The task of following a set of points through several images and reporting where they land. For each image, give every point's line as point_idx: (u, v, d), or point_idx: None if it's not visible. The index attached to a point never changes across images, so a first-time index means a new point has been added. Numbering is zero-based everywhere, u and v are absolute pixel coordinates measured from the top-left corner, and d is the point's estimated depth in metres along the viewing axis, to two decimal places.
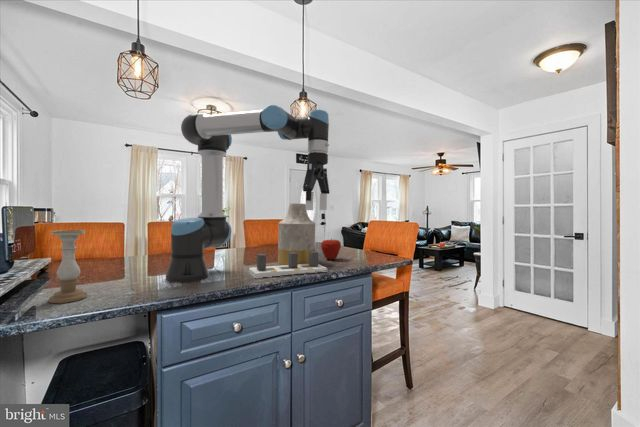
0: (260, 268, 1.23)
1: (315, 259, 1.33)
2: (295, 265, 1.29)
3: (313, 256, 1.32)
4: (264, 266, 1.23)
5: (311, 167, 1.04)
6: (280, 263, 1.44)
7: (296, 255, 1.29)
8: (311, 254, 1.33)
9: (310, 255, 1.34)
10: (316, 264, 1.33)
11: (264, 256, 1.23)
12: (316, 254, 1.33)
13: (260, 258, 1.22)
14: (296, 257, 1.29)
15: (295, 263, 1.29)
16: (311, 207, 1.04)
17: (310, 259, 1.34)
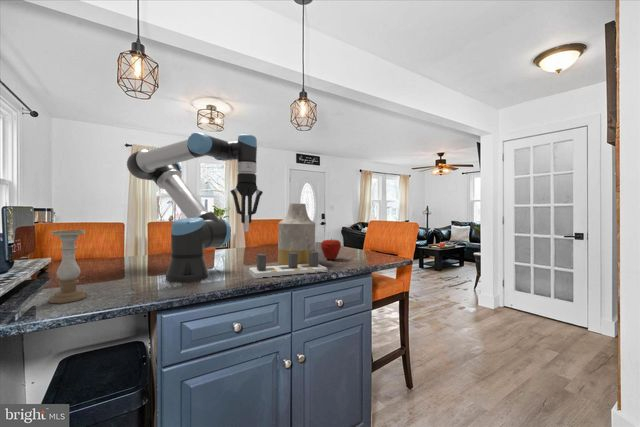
0: (260, 268, 1.23)
1: (315, 259, 1.33)
2: (295, 265, 1.29)
3: (313, 256, 1.32)
4: (264, 266, 1.23)
5: (232, 193, 1.18)
6: (280, 263, 1.44)
7: (296, 255, 1.29)
8: (311, 254, 1.33)
9: (310, 255, 1.34)
10: (316, 264, 1.33)
11: (264, 256, 1.23)
12: (316, 254, 1.33)
13: (260, 258, 1.22)
14: (296, 257, 1.29)
15: (295, 263, 1.29)
16: (244, 229, 1.20)
17: (310, 259, 1.34)
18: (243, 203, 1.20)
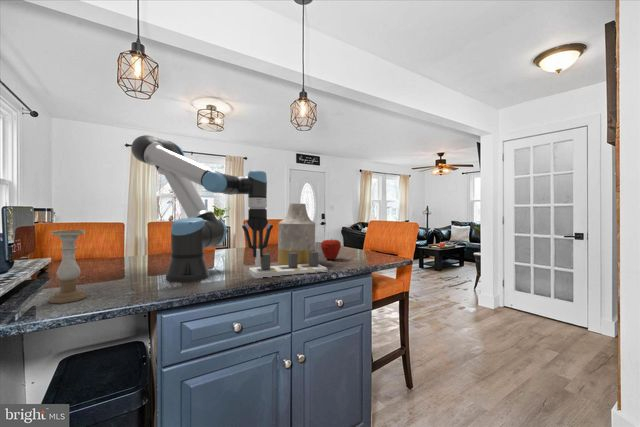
0: (264, 268, 1.23)
1: (315, 259, 1.33)
2: (295, 265, 1.29)
3: (313, 256, 1.32)
4: (268, 266, 1.24)
5: (243, 229, 1.20)
6: (280, 263, 1.44)
7: (296, 255, 1.29)
8: (311, 254, 1.33)
9: (310, 255, 1.34)
10: (316, 264, 1.33)
11: (268, 256, 1.24)
12: (316, 254, 1.33)
13: (264, 258, 1.23)
14: (296, 257, 1.29)
15: (295, 263, 1.29)
16: (256, 263, 1.22)
17: (310, 259, 1.34)
18: (254, 238, 1.22)
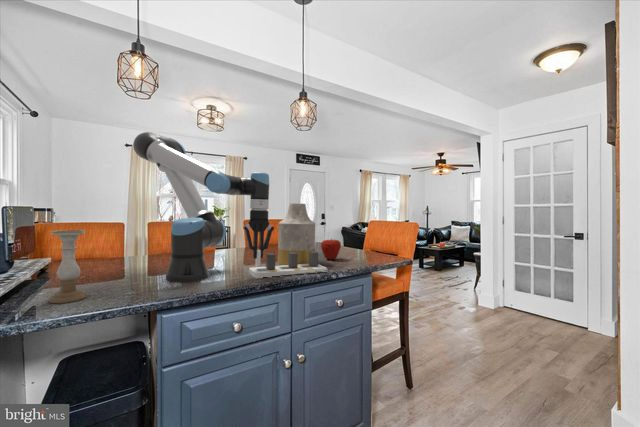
0: (270, 267, 1.24)
1: (315, 259, 1.33)
2: (295, 265, 1.29)
3: (313, 256, 1.32)
4: (273, 265, 1.25)
5: (245, 230, 1.21)
6: (280, 263, 1.44)
7: (296, 255, 1.29)
8: (311, 254, 1.33)
9: (310, 255, 1.34)
10: (316, 264, 1.33)
11: (273, 256, 1.25)
12: (316, 254, 1.33)
13: (270, 257, 1.24)
14: (296, 257, 1.29)
15: (295, 263, 1.29)
16: (256, 264, 1.23)
17: (310, 259, 1.34)
18: (255, 239, 1.22)
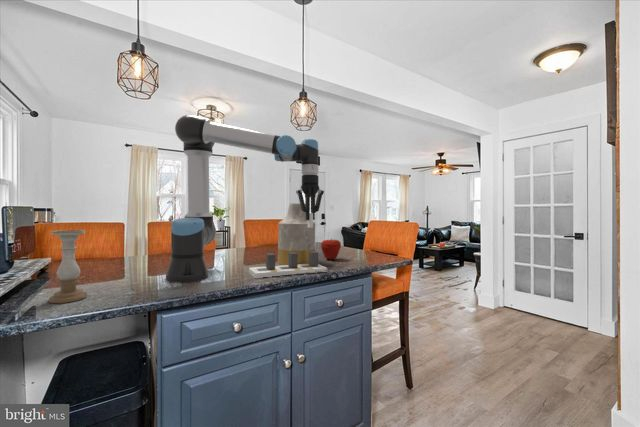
0: (270, 267, 1.24)
1: (315, 259, 1.33)
2: (295, 265, 1.29)
3: (313, 256, 1.32)
4: (273, 265, 1.25)
5: (298, 193, 1.30)
6: (280, 263, 1.44)
7: (296, 255, 1.29)
8: (311, 254, 1.33)
9: (310, 255, 1.34)
10: (316, 264, 1.33)
11: (273, 256, 1.25)
12: (316, 254, 1.33)
13: (270, 257, 1.24)
14: (296, 257, 1.29)
15: (295, 263, 1.29)
16: (309, 225, 1.32)
17: (310, 259, 1.34)
18: (308, 202, 1.31)
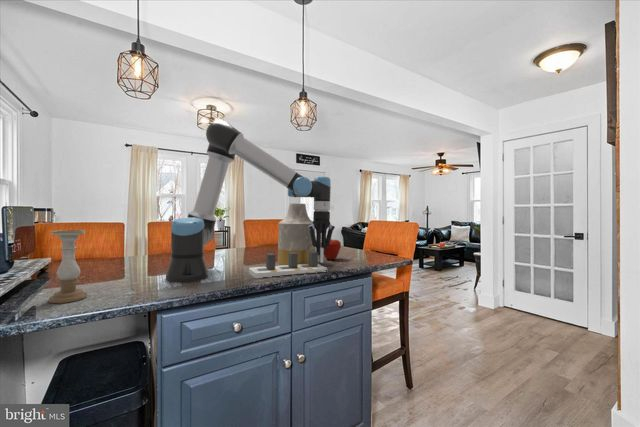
0: (270, 267, 1.24)
1: (314, 259, 1.33)
2: (295, 265, 1.29)
3: (312, 256, 1.32)
4: (273, 265, 1.25)
5: (310, 229, 1.33)
6: (280, 263, 1.44)
7: (296, 255, 1.29)
8: (310, 254, 1.33)
9: (309, 255, 1.34)
10: (315, 264, 1.33)
11: (273, 256, 1.25)
12: (315, 254, 1.33)
13: (270, 257, 1.24)
14: (296, 257, 1.29)
15: (295, 263, 1.29)
16: (320, 260, 1.35)
17: (309, 259, 1.34)
18: (319, 237, 1.34)
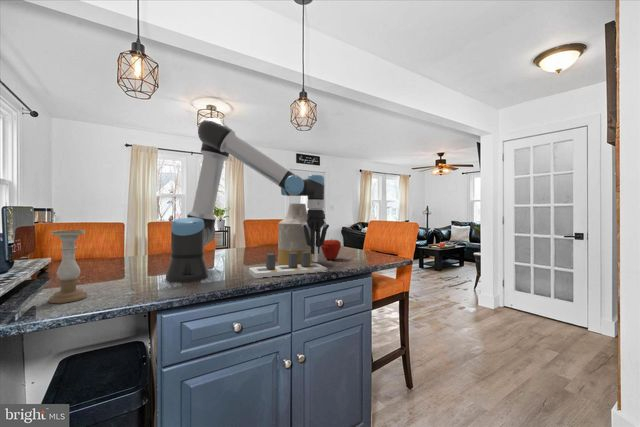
0: (270, 267, 1.24)
1: (306, 259, 1.31)
2: (295, 265, 1.29)
3: (304, 257, 1.31)
4: (273, 265, 1.25)
5: (304, 228, 1.32)
6: (280, 263, 1.44)
7: (296, 255, 1.29)
8: (303, 254, 1.32)
9: (302, 255, 1.32)
10: (308, 265, 1.32)
11: (273, 256, 1.25)
12: (308, 254, 1.31)
13: (270, 257, 1.24)
14: (296, 257, 1.29)
15: (295, 263, 1.29)
16: (314, 259, 1.33)
17: (302, 260, 1.32)
18: (313, 236, 1.33)
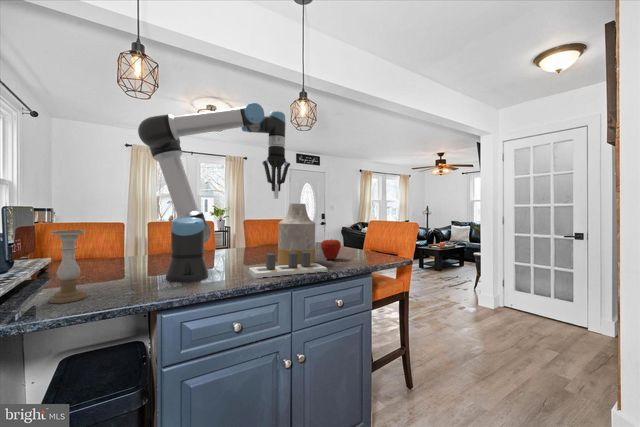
0: (270, 267, 1.24)
1: (306, 259, 1.31)
2: (295, 265, 1.29)
3: (304, 257, 1.31)
4: (273, 265, 1.25)
5: (264, 164, 1.33)
6: (280, 263, 1.44)
7: (296, 255, 1.29)
8: (303, 254, 1.32)
9: (302, 255, 1.32)
10: (308, 265, 1.32)
11: (273, 256, 1.25)
12: (308, 254, 1.31)
13: (270, 257, 1.24)
14: (296, 257, 1.29)
15: (295, 263, 1.29)
16: (274, 196, 1.35)
17: (302, 260, 1.32)
18: (273, 173, 1.34)
